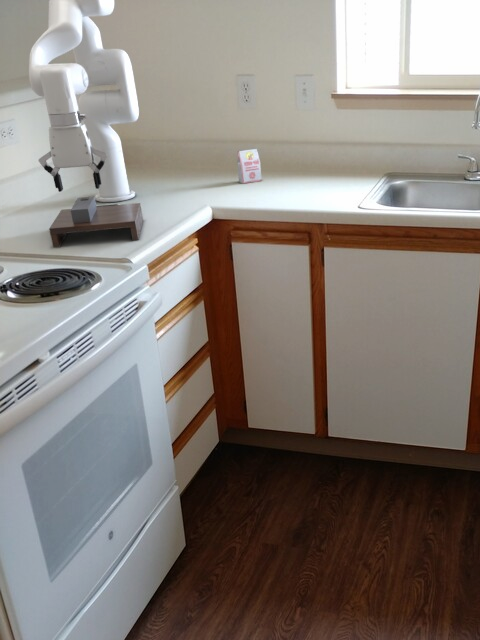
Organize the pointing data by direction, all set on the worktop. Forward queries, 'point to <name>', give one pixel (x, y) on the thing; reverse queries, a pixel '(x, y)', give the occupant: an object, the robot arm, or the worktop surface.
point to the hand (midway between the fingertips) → (79, 189)
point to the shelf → (99, 221)
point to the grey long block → (83, 209)
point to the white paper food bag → (249, 166)
